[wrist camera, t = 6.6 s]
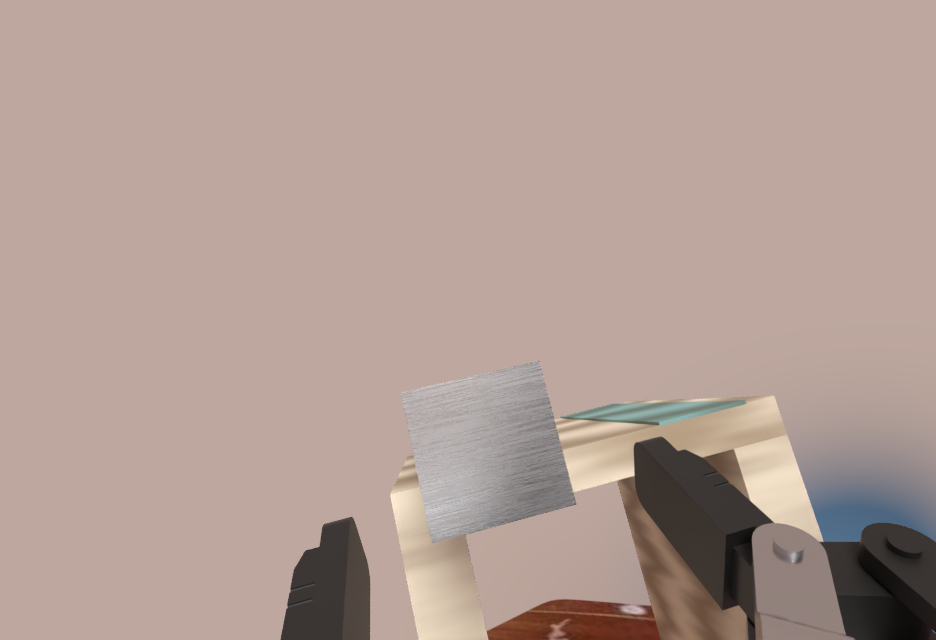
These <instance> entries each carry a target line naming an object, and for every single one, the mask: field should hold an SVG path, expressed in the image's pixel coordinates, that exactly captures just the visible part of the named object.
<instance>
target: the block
mask: <svg viewBox="0 0 936 640" xmlns="http://www.w3.org/2000/svg"><path fill="white" fill-rule="evenodd" d="M401 397H402V402H403V407H404V411H405V416H406V421H407V426H408V431H409V435H410V440H411V445H412V449H413V455H414V460H415V464H416V469H417V474H418V479H419V484H420V489H421V493H422V498H423V503H424V508H425V513H426V517H427V522H428V527H429V532H430V537H431V541H432V544H433V543H437V542H440V541H444V540H448V539H451V538H455V537H459V536H462V535H466V534H469V533H473V532H476V531H480V530H484V529H488V528H492V527H495V526H499V525H503V524H506V523H510V522H513V521H517V520H521V519H525V518H528V517H532V516H536V515H539V514H543V513H547V512H550V511H554V510H558V509H561V508H565V507H568V506H572V505H576V501H575V497H574V493H573V489H572V485H571V482H570V478H569V474H568V470H567V466H566V462H565V458H564V455H563V451H562V447H561V443H560V439H559V435H558V432H557V428H556V424H555V420H554V416H553V413H552V409H551V405H550V401H549V397H548V393H547V389H546V385H545V382H544V378H543V374H542V370H541V366H540V362H539V361H536V362H532V363H527V364H523V365H519V366H514V367H510V368H506V369H501V370H497V371H493V372H489V373H484V374H480V375H475V376H471V377H467V378H462V379H458V380H454V381H450V382H445V383H441V384H437V385H432V386H428V387H424V388H419V389H415V390H411V391H407V392H402V393H401Z"/></svg>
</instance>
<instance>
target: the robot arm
mask: <svg viewBox="0 0 936 640" xmlns="http://www.w3.org/2000/svg"><path fill="white" fill-rule="evenodd" d="M634 473H635V488H636V493H637V496H638V499H639V501H640V503H641V505H642V506H643V508H644V509H645V511H646V512H647V513H648V515H649V516H650V517H651V519H652V520H653V521H654V522H655V524H656V525H657V526H658V528H659V529H660V530H661V531H662V533H663V534H664V535H665V537H666V538H667V539H668V541H669V542H670V543H671V544H672V546H673V547H674V548H675V550H676V551H677V552H678V554H679V555H680V556H681V557H682V559H683V560H684V561H685V563H686V564H687V565H688V566H689V568H690V569H691V570H692V572H693V573H694V574H695V576H696V577H697V578H698V579H699V581H700V582H701V583H702V585H703V586H704V587H705V589H706V590H707V591H708V592H709V594H710V595H711V596H712V598H713V599H714V600H715V602H716V603H717V604H718V605H719V607H720V608H721V609H722V611H723V610H726V609H729V608H732V607H735V606H738V605H739V606H740V608H741V609H742V610H743V611H744V612H745V614H746V639H747V640H936V634H935V633H934V632H933V631H935V632H936V542H934V541H933V540H932V539H930V538H928V537H927V536H925V535H923V534H921V533H920V532H917V531H915V530H913V529H910V528H907V527H904V526H901V525H897V524H891V523H876V524H871V525H869V526H867V527H865V528H864V530H863V531H862V534H861V539H860V542H819V541H818V540H816V539H815V538H814V537H813V536H811V535H810V534H809V533H807V532H805V531H803V530H801V529H799V528H797V527H794V526H791V525H786V524H780V523H774V522H773V521H772V520H771V519H770V518H769V517H768V516H767V515H765V514H764V513H763V512H762V511H761V510H760V509H759V508H758V507H757V506H756V505H754V504H753V503H752V502H751V501H750V500H749V499H748V498H747V497H746V496H745V495H743V494H742V493H741V492H740V491H739V490H738V489H737V488H736V487H735V486H734V485H732V484H730V483H729V481H728V480H727V479H726V478H725V477H724V476H723V475H721V474H719V473H718V471H717V470H716V469H715V468H714V467H713V466H712V465H710V464H709V463H708V462H707V461H706V460H705V459H704V458H702V457H700V456H698V455H696V454H694V453H692V452H690V451H688V450H686V449H684V450H680V451H677V450H676V449H675V448H674V447H673V446H672V445H671V444H670V443H669V442H668V441H667V440H666V439H665V438H663V437H661V436H659V437H655V438H651V439H648V440H644V441H640V442H636V443H635V444H634ZM287 605H288V609H286V615H285V620H284V625H283V630H282V635H281V640H370V576H369V569H368V563H367V559H366V556H365V553H364V550H363V546H362V543H361V540H360V537H359V534H358V531H357V527H356V524H355V521H354V519H353V518H352V517H349V518H346V519H342V520H338V521H334V522H330V523H327V524H324V525H323V527H322V534H321V542H320V547H318V548H314V549H310V550H306V551H305V552H304V554H303V556H302V557H301V559H300V561H299V562H298V564H297V566H296V567H295V569H294V573H293V578H292V583H291V592H290V594H289V599H288V604H287ZM932 630H933V631H932Z"/></svg>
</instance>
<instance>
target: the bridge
mask: <svg viewBox="0 0 936 640" xmlns="http://www.w3.org/2000/svg"><path fill="white" fill-rule="evenodd" d="M555 424H556V428H557V432H558V435H559V439H560V443H561V447H562V451H563V455H564V458H565V462H566V466H567V470H568V474H569V478H570V482H571V485H572V489H573V492H576V491H579V490H583V489H587V488H591V487H594V486H598V485H602V484H606V483H609V482H613V481H617V482H618V486H619V490H620V493H621V497H622V500H623V504H624V508H625V511H626V515H627V519H628V522H629V526H630V529H631V533H632V537H633V540H634V544H635V548H636V551H637V555H638V558H639V562H640V565H641V569H642V573H643V577H644V580H645V584H646V588H647V591H648V595H649V598H650V602H651V606H652V609H653V613H654V617H655V620H656V624H657V627H658V631H659V635H660V638H661V640H747V639H746V614H745V612H744V611H743V610H742V609H741V608H740V606H739V605H738V606H735V607H732V608H729V609H726V610H723V611H722V609H721V608H720V607H719V605H718V604H717V603H716V602H715V600H714V599H713V598H712V596H711V595H710V594H709V592H708V591H707V590H706V589H705V587H704V586H703V585H702V583H701V582H700V581H699V579H698V578H697V577H696V576H695V574H694V573H693V572H692V570H691V569H690V568H689V566H688V565H687V564H686V563H685V561H684V560H683V559H682V557H681V556H680V555H679V554H678V552H677V551H676V550H675V548H674V547H673V546H672V544H671V543H670V542H669V541H668V539H667V538H666V537H665V535H664V534H663V533H662V531H661V530H660V529H659V528H658V526H657V525H656V524H655V522H654V521H653V520H652V519H651V517H650V516H649V515H648V513H647V512H646V511H645V509H644V508H643V506H642V505H641V503H640V501H639V499H638V496H637V493H636V488H635V473H634V444H635V443H636V442H640V441H644V440H648V439H651V438H655V437H659V436H661V437H663V438H665V439H666V440H667V441H668V442H669V443H670V444H671V445H672V446H673V447H674V448H675V449H676V450H677V451H680V450H684V449H686V450H688V451H690V452H692V453H694V454H696V455H698V456H700V457H702V458H704V459H705V460H706V461H707V462H708V463H709V464H710V465H712V466H713V467H714V468H715V469H716V470H717V471H718V473H719V474H721V475H723V476H724V477H725V478H726V479H727V480H728V481H729V483H730V484H732V485H734V486H735V487H736V488H737V489H738V490H739V491H740V492H741V493H742V494H743V495H745V496H746V497H747V498H748V499H749V500H750V501H751V502H752V503H753V504H754V505H756V506H757V507H758V508H759V509H760V510H761V511H762V512H763V513H764V514H765V515H767V516H768V517H769V518H770V519H771V520H772V521H773V522H774V523H780V524H786V525H791V526H794V527H797V528H799V529H801V530H803V531H805V532H807V533H809V534H810V535H811V536H813V537H814V538H815V539H816V540H818V541H819V542H824V541H823V539H822V536H821V533H820V530H819V527H818V524H817V521H816V518H815V515H814V512H813V509H812V506H811V503H810V500H809V498H808V495H807V491H806V488H805V486H804V483H803V480H802V477H801V474H800V471H799V468H798V465H797V462H796V459H795V456H794V453H793V450H792V447H791V444H790V441H789V439H788V436H787V433H786V430H785V427H784V424H783V421H782V418H781V415H780V412H779V409H778V406H777V403H776V400H775V397H774V396H758V397H732V398H708V399H683V400H682V399H681V400H656V401H631V402H625V403H621V404H610V405H606V406H602V407H598V408H594V409H590V410H586V411H582V412H578V413H574V414H570V415H566V416H561V419H557V420H555ZM390 496H391V501H392V507H393V511H394V517H395V522H396V527H397V531H398V537H399V542H400V547H401V552H402V557H403V563H404V568H405V573H406V577H407V583H408V588H409V593H410V598H411V603H412V608H413V613H414V618H415V624H416V628H417V634H418V638H419V640H488V636H487V631H486V627H485V623H484V617H483V613H482V609H481V604H480V599H479V595H478V590H477V586H476V581H475V576H474V572H473V567H472V563H471V558H470V554H469V549H468V545H467V540H466V535H462V536H459V537H455V538H451V539H448V540H444V541H440V542H437V543H433V544H432V541H431V537H430V532H429V527H428V522H427V517H426V513H425V508H424V503H423V498H422V493H421V489H420V484H419V479H418V474H417V469H416V464H415V460H414V455H412V456H409V457H407V460H406V462H405V464H404V466H403V468H402V470H401V472H400V474H399V477H398V479H397V481H396V483H395V485H394V487H393V489H392V492H391V494H390Z"/></svg>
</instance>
